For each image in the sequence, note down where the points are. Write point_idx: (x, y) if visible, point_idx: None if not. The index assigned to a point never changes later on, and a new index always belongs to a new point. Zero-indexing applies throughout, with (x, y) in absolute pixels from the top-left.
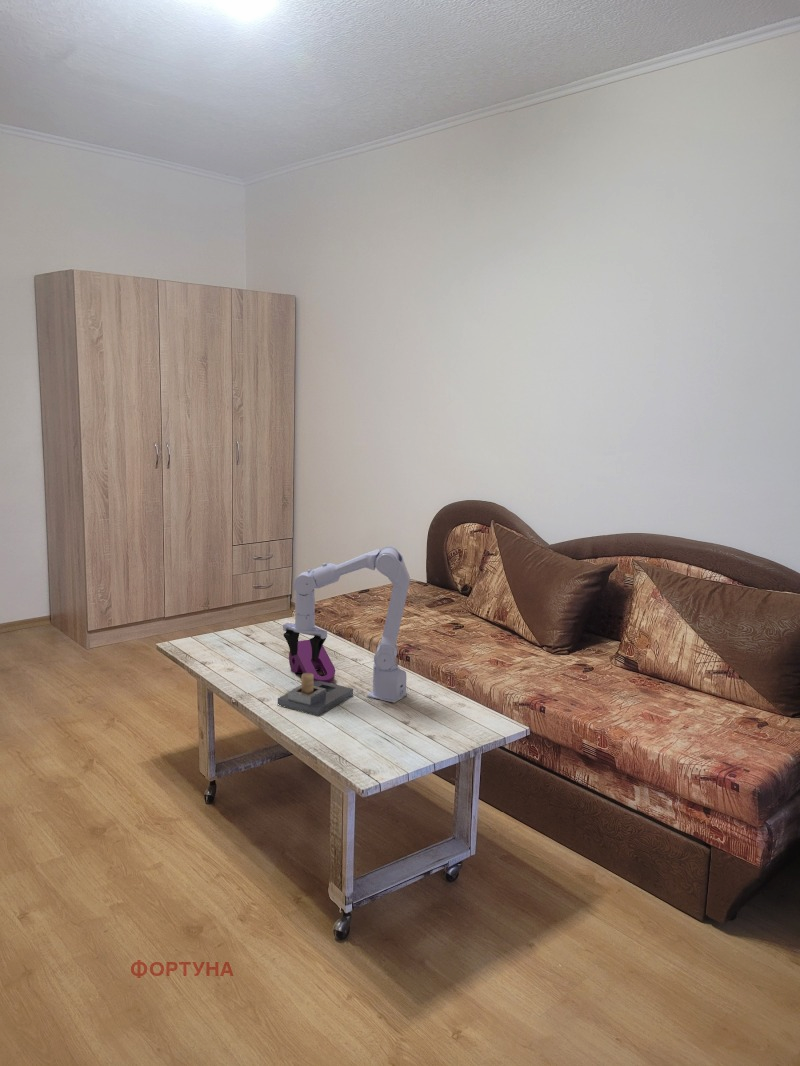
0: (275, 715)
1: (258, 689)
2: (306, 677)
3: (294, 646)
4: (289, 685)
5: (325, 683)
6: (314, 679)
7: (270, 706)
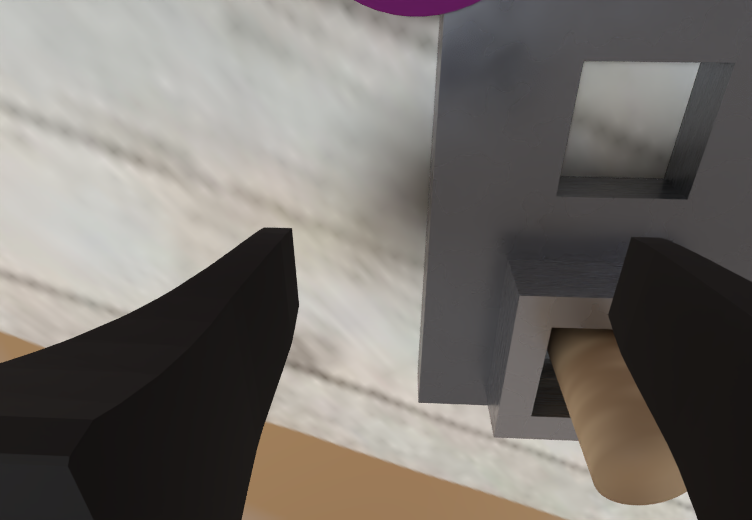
0: (479, 451)
1: (165, 261)
2: (655, 500)
3: (259, 353)
4: (271, 96)
5: (599, 22)
6: (460, 2)
7: (394, 396)
